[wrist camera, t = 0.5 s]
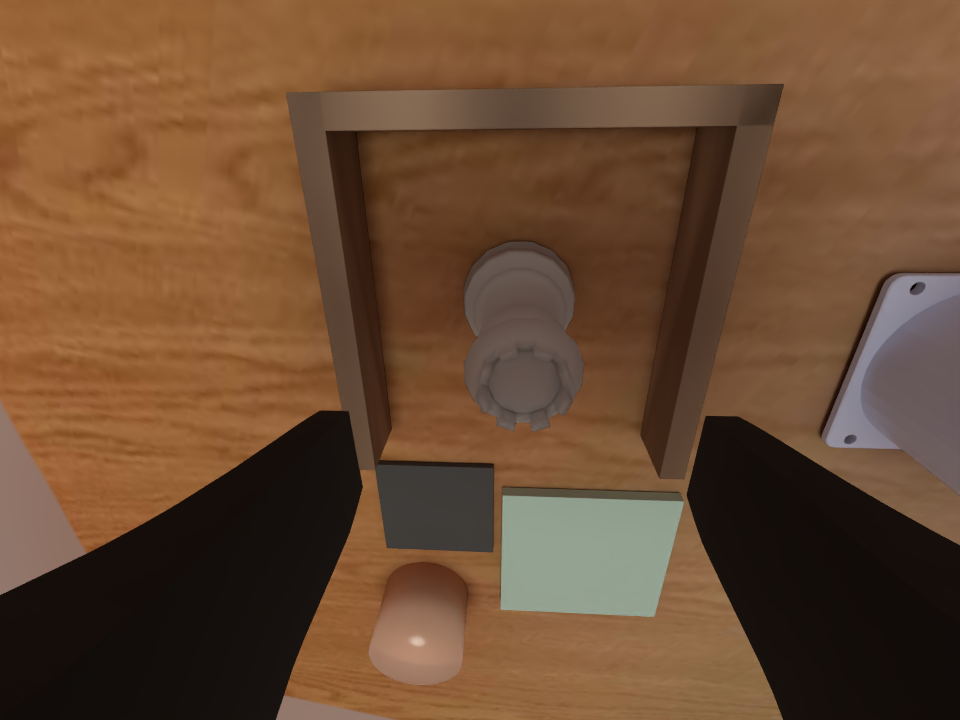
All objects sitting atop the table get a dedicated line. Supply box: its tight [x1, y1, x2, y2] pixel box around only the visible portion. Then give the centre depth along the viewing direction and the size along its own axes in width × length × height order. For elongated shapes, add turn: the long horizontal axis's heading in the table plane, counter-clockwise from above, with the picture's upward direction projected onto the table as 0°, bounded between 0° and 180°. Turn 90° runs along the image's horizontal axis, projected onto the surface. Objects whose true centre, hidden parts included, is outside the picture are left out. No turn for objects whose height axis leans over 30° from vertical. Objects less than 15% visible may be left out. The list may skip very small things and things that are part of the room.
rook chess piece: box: [464, 242, 584, 432], centre depth 15 cm, size 4×4×8 cm
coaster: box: [501, 487, 684, 617], centre depth 25 cm, size 9×9×1 cm
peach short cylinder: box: [369, 562, 468, 685], centre depth 26 cm, size 5×5×4 cm
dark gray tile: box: [375, 461, 493, 552], centre depth 24 cm, size 6×6×1 cm
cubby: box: [286, 84, 784, 479], centre depth 17 cm, size 14×14×3 cm
